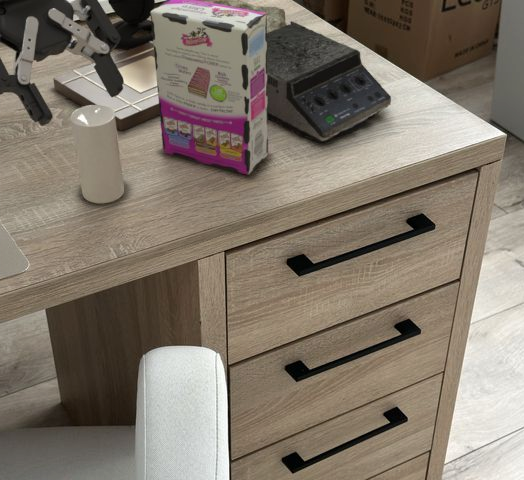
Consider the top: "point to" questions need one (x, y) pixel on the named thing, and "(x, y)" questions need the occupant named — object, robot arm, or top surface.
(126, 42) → the webcam
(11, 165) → the top surface
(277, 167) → the top surface
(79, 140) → the white cylinder
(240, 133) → the candy bar box
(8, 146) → the top surface
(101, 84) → the grid board
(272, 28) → the rock
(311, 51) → the electronic device
